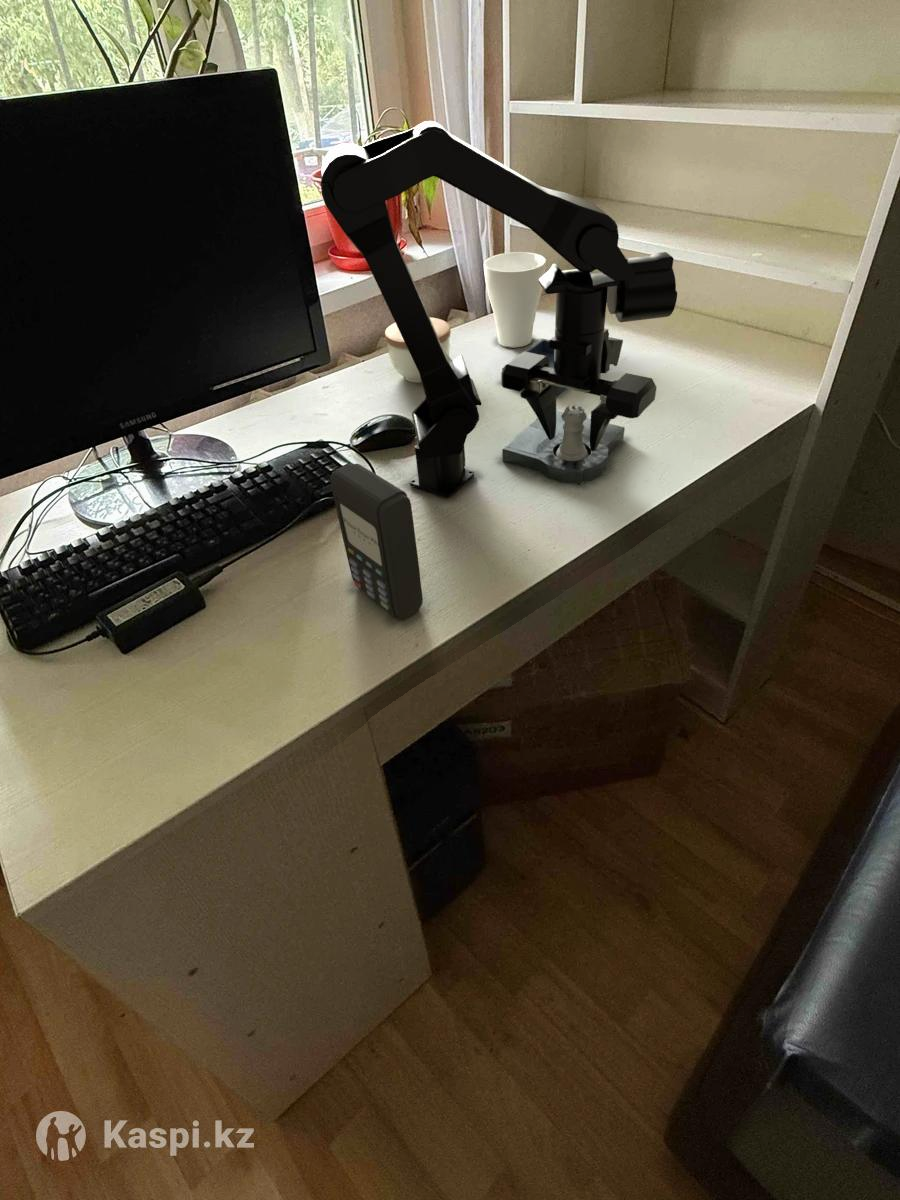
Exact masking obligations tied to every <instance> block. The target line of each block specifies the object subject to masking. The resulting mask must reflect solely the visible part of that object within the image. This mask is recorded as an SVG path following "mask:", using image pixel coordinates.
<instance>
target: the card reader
mask: <svg viewBox="0 0 900 1200" xmlns="http://www.w3.org/2000/svg"><path fill="white" fill-rule="evenodd" d="M330 487H331V492H332V496H333V500H334V505H335V509H336V514H337V518H338V523H339V527H340V531H341V537H342V541H343V547H344V550H345V554H346V558H347V562H348V566H349V570H350V575H351V579H352V581H353V583H354V585H355V586H356V587H357V588H358V589H359V590H361V591H362V592H363V593H364V594H365V595H367V596H368V597H369V598H370V599H372V600H373V601H374V602H375V603H377V604H378V605H379V606H381V608H383V609H384V610H386V611H387V613H390V615H392V616H393V617H395V618H399V619H402V620H405V619H407V618H409V617H410V616H412V615H414V614H415V613H417V612H418V611H420V609H421V607H422V605H423V591H422V581H421V571H420V563H419V555H418V548H417V540H416V533H415V532H416V531H415V525H414V524H415V523H414V516H413V509H412V502H411V500H410V498H409V497H408V494H407V493H406V492H405V490H403V489H400V488H399V487H398V486H396V485H394V484H393V483H391V482H390V481H388V480H386V479H385V478H383V477H382V476H379V475H378V474H377V473H375V472H373V471H372V470H370V469H368V468H367V467H365V466H363V465H362V464H360V463H352V462H350V463H347V464H344V465H342V466H341V467H338V468H336V469H334V470H333V471H332V473H331V475H330Z"/></svg>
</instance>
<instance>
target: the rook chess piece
mask: <svg viewBox="0 0 900 1200" xmlns="http://www.w3.org/2000/svg"><path fill="white" fill-rule="evenodd" d="M570 405H571V406H570ZM570 405H567V406H565V408H564V411H563V412H564V413H563V414H562V415H561V416H562V419H563V420H564V422H565V424H564V425H563V429H564V435H563V440H562V444H561V445H560V446H559V448H558V450H557V452H556V457H558V458H560V459H563V460H566V461H578V460H583V459H585V458H587V457H588V453H587V450H586V449H585V445H584V444H583V429H584V425H583V422H584V421H585V419H586V418H588V414H587V413H586V412H585V411H586V409H585V407H583V406H582V405H580V404H579V405H577V407H576V404H570Z"/></svg>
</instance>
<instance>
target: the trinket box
mask: <svg viewBox="0 0 900 1200" xmlns="http://www.w3.org/2000/svg"><path fill="white" fill-rule="evenodd" d="M430 320H431V322H432V324H433V327H434V329H435V331H436V334H437V336H438V338H439V340H440V343H441V345H442V347H443V349H444V351H445V352H446V353H447V355H448V356H449V357H450V354H451V344H452V343H451V332H452V331H451V330H452V329H451V325H450V324H449V323H448V322H447V321H445V320H443V319H441V318H436V317H430ZM384 338H385V342H386V348H387V353H388V357H389V359H390V362H391V364H392V366H393V369H395V370H396V372H397V373H398V374H399V375H401V376H402V377H403V379H405V380H406V381H408V382H411V383H415V384H422V381H421V378H420V374H419V371H418V369H417V367H416V365H415V363H414V361H413V359H412V357H411V354H410V352H409V350H408V348H407V346H406V344H405V342H404V340H403V337H402V335H401V333H400V331H399V329H398V327H397V325H396V323H395V322H394V323H392V324H391V325H389V326H388V327H387V328H386V329H385V330H384Z"/></svg>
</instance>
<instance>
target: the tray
mask: <svg viewBox="0 0 900 1200" xmlns="http://www.w3.org/2000/svg"><path fill="white" fill-rule="evenodd" d="M549 340H550V339H547V338H541V339H540V340H538V341H537V342H535V343H534V344H533V345H531V346H530V347H529V348H527V349H526V350H525V351H524V352H529V353H534V354H538V355H543V356H547V358H548V359H549V360H550V363H549V368H553V369H554V349H551V348H549ZM503 368H504V366H503V367H502V368H501V371H502V370H503ZM566 390H567V388H563V387H559V389H558V392H557V396H556V397H559V396H560V395H562V394H563V393H564V392H565V391H566Z"/></svg>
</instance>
